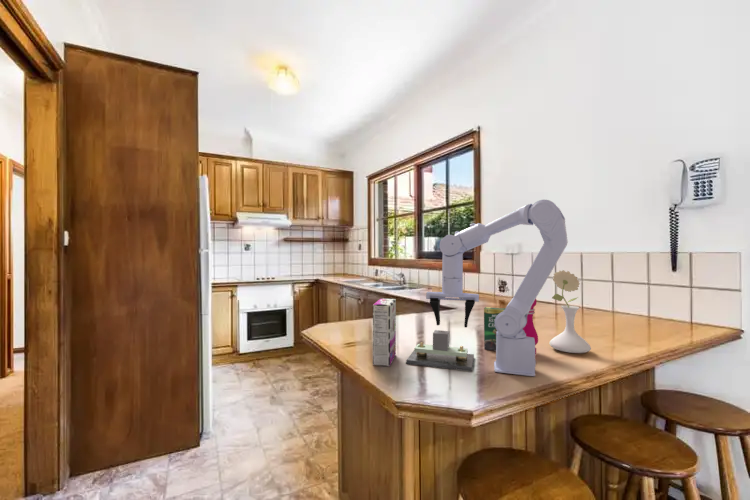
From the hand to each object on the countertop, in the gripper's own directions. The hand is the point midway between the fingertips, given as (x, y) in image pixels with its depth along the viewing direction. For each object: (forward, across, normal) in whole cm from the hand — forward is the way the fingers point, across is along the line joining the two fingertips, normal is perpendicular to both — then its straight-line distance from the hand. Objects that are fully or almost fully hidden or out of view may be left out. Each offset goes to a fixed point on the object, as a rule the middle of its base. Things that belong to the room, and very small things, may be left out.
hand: (451, 325), depth 100 cm
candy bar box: (+10, -18, -8) cm, 22 cm away
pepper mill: (+10, +21, +14) cm, 27 cm away
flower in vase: (+10, +34, +22) cm, 41 cm away
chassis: (+9, -3, -3) cm, 10 cm away
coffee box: (+10, +13, +14) cm, 21 cm away
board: (+7, -3, -3) cm, 8 cm away
